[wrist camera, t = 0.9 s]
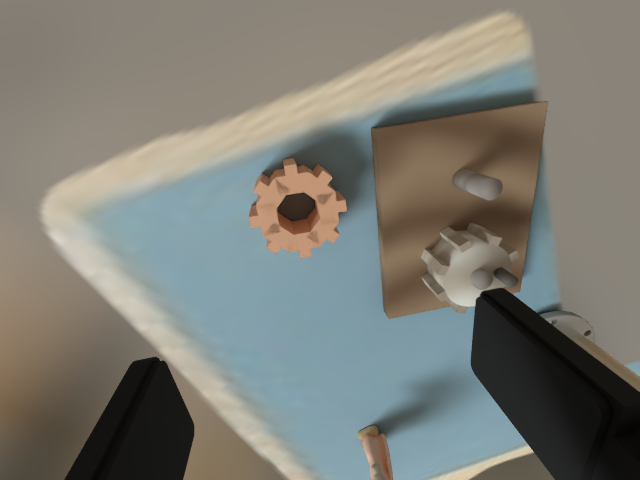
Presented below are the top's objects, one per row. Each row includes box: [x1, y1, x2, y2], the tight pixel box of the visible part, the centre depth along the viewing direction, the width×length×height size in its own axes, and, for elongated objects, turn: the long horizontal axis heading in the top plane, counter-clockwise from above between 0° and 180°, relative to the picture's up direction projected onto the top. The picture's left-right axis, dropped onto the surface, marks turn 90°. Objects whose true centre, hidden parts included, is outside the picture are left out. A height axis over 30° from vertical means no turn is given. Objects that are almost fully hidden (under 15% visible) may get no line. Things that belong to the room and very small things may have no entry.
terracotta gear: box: [249, 158, 347, 258], centre depth 25 cm, size 7×7×3 cm
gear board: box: [371, 101, 548, 319], centre depth 26 cm, size 18×14×6 cm
